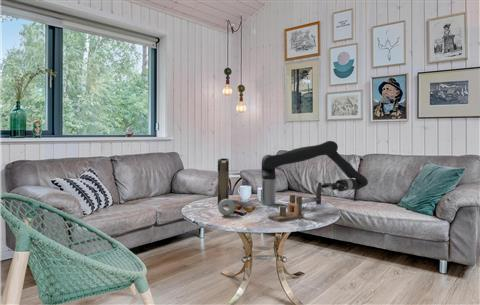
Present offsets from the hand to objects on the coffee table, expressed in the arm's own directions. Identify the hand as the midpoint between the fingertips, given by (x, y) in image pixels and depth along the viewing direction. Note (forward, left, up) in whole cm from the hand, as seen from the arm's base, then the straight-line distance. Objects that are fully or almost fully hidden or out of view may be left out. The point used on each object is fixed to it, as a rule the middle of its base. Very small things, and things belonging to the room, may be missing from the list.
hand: (327, 187), depth 224 cm
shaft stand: (0, -34, -15) cm, 37 cm away
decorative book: (-57, -40, -15) cm, 71 cm away
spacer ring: (0, -29, -13) cm, 32 cm away
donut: (-23, -60, -15) cm, 66 cm away
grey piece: (0, -15, -10) cm, 18 cm away
